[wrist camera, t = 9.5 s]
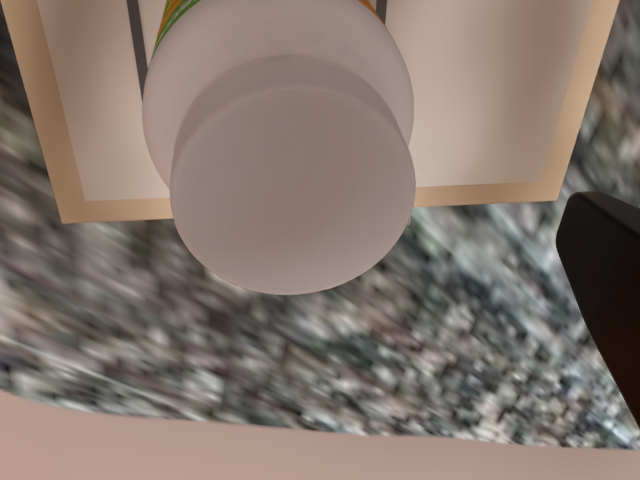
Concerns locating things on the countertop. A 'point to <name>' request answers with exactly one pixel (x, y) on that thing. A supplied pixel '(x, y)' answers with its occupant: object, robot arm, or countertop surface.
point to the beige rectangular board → (425, 74)
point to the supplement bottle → (281, 138)
